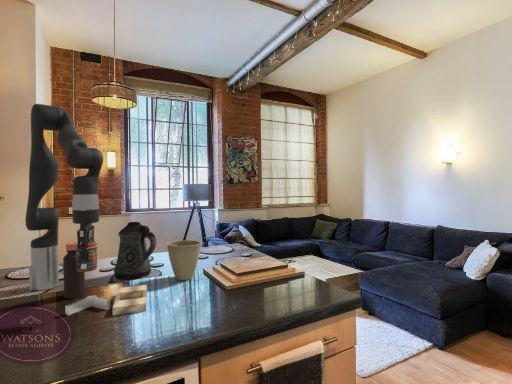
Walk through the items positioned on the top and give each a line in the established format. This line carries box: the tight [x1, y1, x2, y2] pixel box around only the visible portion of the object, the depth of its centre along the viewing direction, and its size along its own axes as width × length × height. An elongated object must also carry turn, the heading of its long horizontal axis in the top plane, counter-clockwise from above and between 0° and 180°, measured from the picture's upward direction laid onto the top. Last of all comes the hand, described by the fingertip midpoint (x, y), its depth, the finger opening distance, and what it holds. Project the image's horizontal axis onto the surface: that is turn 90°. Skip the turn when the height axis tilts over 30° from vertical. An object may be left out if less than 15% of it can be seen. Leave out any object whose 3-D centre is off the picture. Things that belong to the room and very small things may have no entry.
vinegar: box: [62, 241, 86, 300], centre depth 111 cm, size 7×7×20 cm
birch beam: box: [112, 284, 148, 316], centre depth 104 cm, size 10×20×2 cm, turn 20°
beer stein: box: [113, 221, 157, 281], centre depth 138 cm, size 16×19×25 cm
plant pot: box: [166, 239, 202, 281], centre depth 132 cm, size 15×15×16 cm
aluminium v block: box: [64, 294, 111, 316], centre depth 99 cm, size 13×8×3 cm, turn 110°
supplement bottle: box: [76, 235, 98, 273], centre depth 95 cm, size 6×6×11 cm
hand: (86, 259), depth 95 cm, fingers closed on supplement bottle, 6 cm apart
